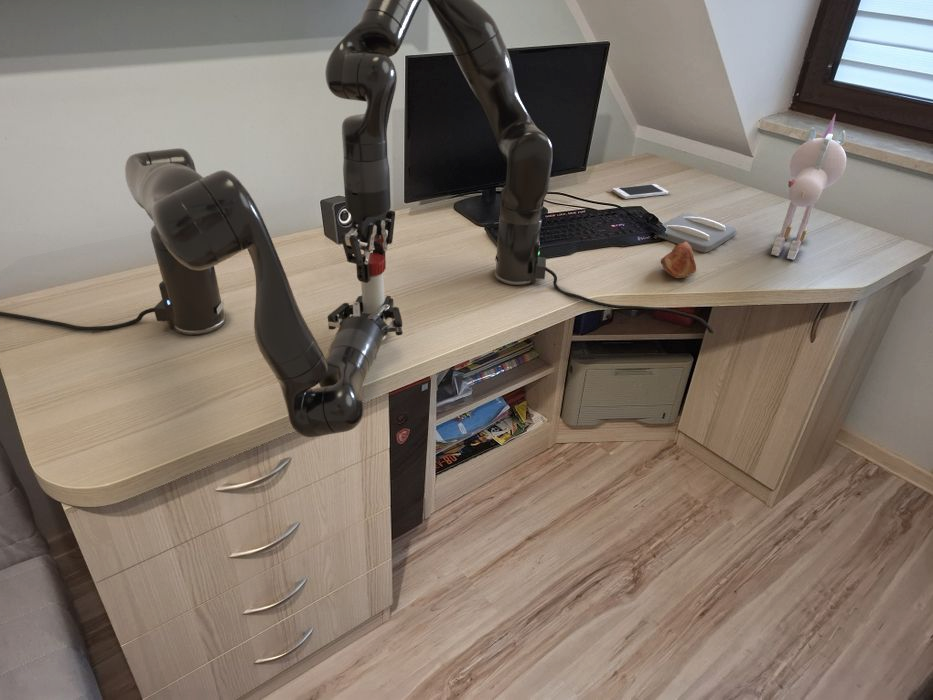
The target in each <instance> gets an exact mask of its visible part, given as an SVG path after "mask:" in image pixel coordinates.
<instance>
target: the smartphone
mask: <svg viewBox="0 0 933 700" xmlns="http://www.w3.org/2000/svg"><path fill="white" fill-rule="evenodd" d="M611 191H612V193H614V194H616V195H617V196H619V197H621V198H622V199H624V200H628V199H635V198H636V199H637V198H645V197H653V196H661V195H662V196H663V195H668V194H669V190H668V189H667V190H666V189H665V188H663V187H662V186H660V185H658V184H656V183H651V184H650V183H649V184H641V185H632V186H622V187H614V188H612V190H611Z"/></svg>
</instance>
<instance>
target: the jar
mask: <svg viewBox="0 0 933 700" xmlns="http://www.w3.org/2000/svg"><path fill="white" fill-rule="evenodd" d="M384 281H385V280H384V272H383V273H381V274H379V275H374V276H370V281H369V282H368V283H365V282H361V281H360V285H361V295H362V303H363V313H367V314H370V313H373V312H375V311H376V310H377V309H378V308H381V307H382V306H383V303H384V301H385V282H384ZM386 337H387V335H386V336H384V337H383V339H382V342H383V341H384V340H385V339H386Z"/></svg>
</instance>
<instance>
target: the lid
mask: <svg viewBox="0 0 933 700" xmlns="http://www.w3.org/2000/svg"><path fill="white" fill-rule="evenodd" d="M361 254H362V256H364V253H361ZM369 264H370V276H374V275H379V274H381V273H383V274H384V273H385V271H386V269H385V260H384V256H383V255H381V254H379V253H373V252H370V257H369Z"/></svg>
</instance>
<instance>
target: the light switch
mask: <svg viewBox="0 0 933 700" xmlns="http://www.w3.org/2000/svg"><path fill="white" fill-rule="evenodd" d="M661 224H662V225H663V226H664V227H665V228H666V231H665V234H667V235H668V237H665V236H662V235H658V236H657V235H654V236H655V237H657V238H659V239H663V240H665V241H669V242H671V243H674V244H676V245H678V244H681V243H684V242H685V241H687V242H688V243H689V245H690V246H691V248H692V250H694V251H697V252H699V253H709V252H711V251H712V250H714V249H716V248H717V247H719V246H720V245H722V244H724V243H725V242H727V241H730V239H732V238H734V237H736V234H737V228H736V227H734V226H732V225H729V224H725V223H722V222H719V221H716V220H713V219H710V218H707V217H703V216H700V215H697V214H694V213H690V212H683V213H682V214H679V215H677V216H675V217H673V218H671V219H669V220H668V221H666V222H663V223H661Z"/></svg>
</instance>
